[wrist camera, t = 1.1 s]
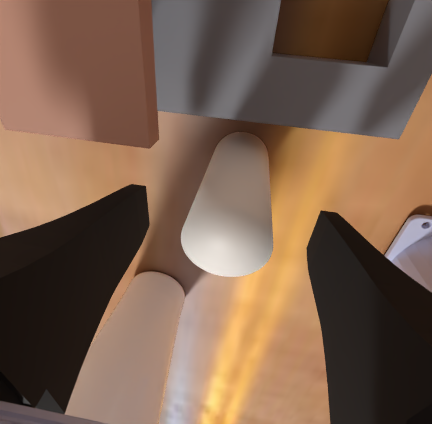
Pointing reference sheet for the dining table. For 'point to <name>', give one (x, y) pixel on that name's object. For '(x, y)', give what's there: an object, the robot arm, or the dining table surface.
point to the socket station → (197, 69)
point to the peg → (232, 210)
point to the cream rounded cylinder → (131, 355)
